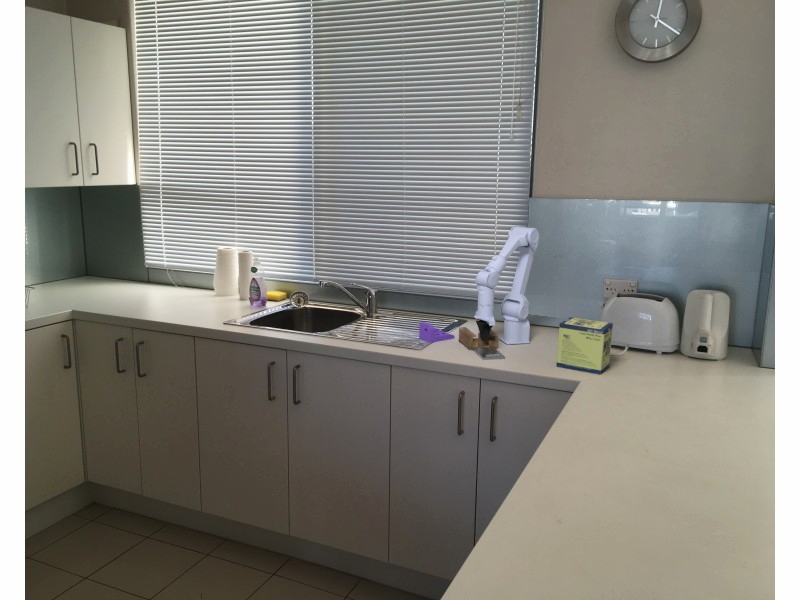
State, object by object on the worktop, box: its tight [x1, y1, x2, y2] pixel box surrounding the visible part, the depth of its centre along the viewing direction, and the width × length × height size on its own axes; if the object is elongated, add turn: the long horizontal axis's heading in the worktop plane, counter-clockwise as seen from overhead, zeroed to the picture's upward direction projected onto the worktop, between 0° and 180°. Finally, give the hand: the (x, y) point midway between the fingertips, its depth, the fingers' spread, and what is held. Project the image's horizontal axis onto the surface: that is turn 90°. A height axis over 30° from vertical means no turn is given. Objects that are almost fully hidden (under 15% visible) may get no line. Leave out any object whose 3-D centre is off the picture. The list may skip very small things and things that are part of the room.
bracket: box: [418, 321, 455, 344], centre depth 262 cm, size 12×7×7 cm, turn 125°
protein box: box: [555, 317, 614, 376], centre depth 229 cm, size 10×16×16 cm
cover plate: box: [472, 347, 506, 361], centre depth 243 cm, size 8×12×2 cm, turn 11°
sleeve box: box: [458, 326, 499, 351], centre depth 254 cm, size 11×12×6 cm
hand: (484, 340), depth 248 cm, fingers closed
